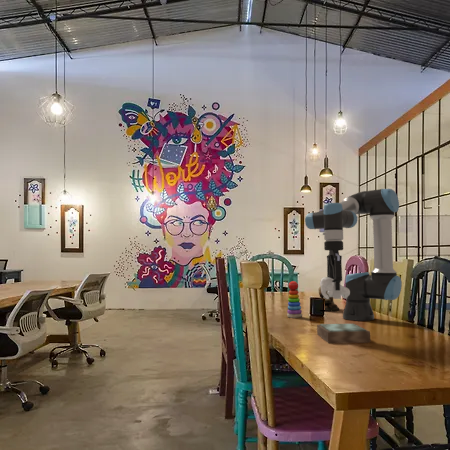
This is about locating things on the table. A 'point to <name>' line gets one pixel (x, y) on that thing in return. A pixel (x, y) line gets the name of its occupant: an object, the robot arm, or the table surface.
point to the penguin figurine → (331, 288)
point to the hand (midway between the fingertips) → (334, 297)
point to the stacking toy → (294, 301)
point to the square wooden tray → (343, 333)
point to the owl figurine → (329, 302)
